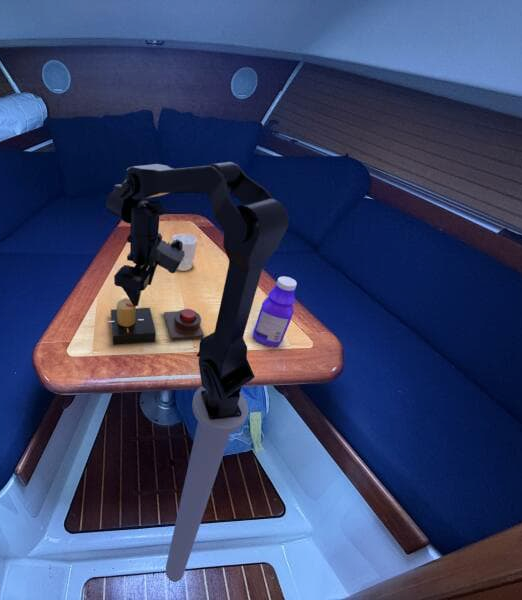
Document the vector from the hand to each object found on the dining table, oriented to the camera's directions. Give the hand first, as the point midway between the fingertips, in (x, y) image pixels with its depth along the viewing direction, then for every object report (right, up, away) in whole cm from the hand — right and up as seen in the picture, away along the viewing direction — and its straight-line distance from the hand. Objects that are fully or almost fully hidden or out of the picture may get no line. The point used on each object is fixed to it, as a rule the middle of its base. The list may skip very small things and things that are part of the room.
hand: (142, 294), depth 74 cm
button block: (+10, -8, +8) cm, 15 cm away
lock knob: (-4, -6, +4) cm, 9 cm away
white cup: (+11, +10, +34) cm, 38 cm away
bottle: (+31, -11, +6) cm, 33 cm away
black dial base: (-3, -9, +6) cm, 11 cm away
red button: (+11, -6, +7) cm, 14 cm away
